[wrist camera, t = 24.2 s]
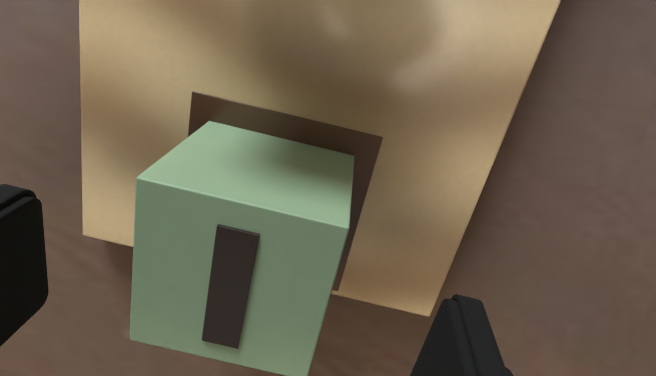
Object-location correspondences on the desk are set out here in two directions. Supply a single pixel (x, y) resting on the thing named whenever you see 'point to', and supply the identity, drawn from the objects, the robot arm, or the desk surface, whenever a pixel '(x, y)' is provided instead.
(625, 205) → the desk surface
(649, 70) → the desk surface
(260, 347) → the letter tile i
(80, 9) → the word board
